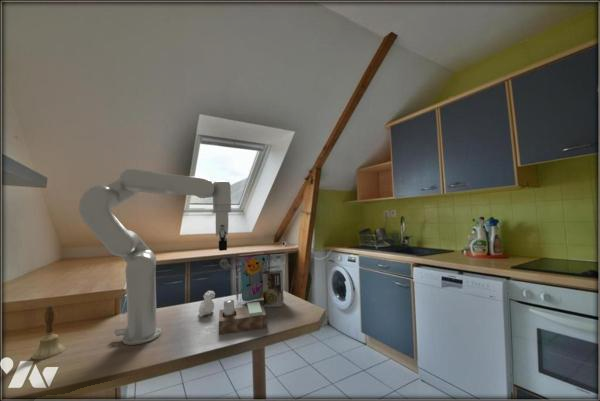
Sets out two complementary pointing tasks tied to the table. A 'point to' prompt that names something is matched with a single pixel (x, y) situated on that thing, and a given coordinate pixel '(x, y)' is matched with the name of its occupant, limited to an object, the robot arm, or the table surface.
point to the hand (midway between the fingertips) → (223, 248)
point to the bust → (207, 304)
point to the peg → (228, 308)
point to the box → (250, 275)
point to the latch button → (254, 309)
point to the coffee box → (273, 288)
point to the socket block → (241, 321)
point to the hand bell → (49, 339)
